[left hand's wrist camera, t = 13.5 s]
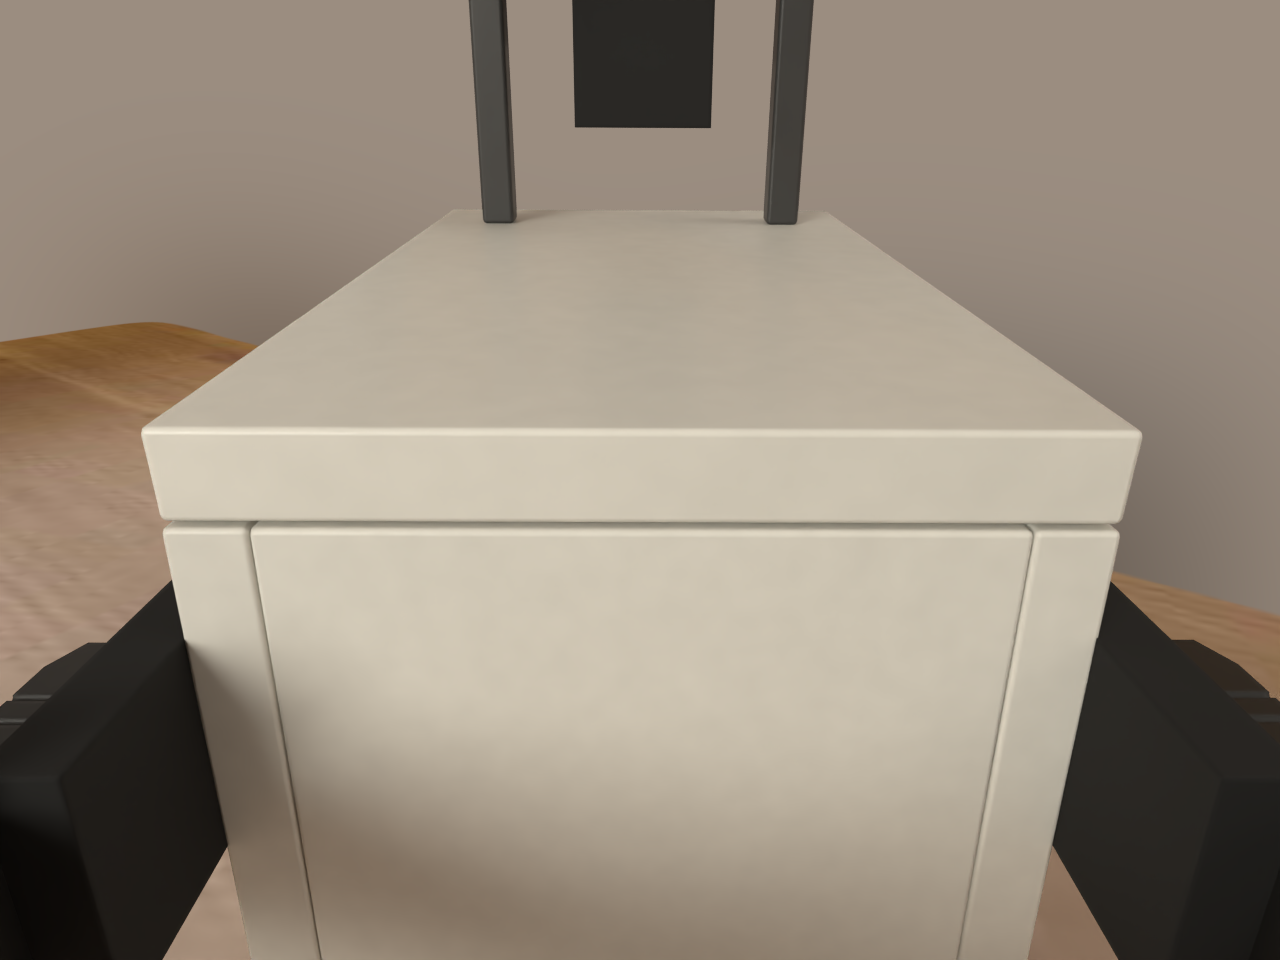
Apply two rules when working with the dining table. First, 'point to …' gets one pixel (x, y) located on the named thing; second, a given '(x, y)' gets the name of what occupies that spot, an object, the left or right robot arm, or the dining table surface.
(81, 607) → the dining table surface
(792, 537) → the chest
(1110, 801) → the left robot arm
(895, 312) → the lid
